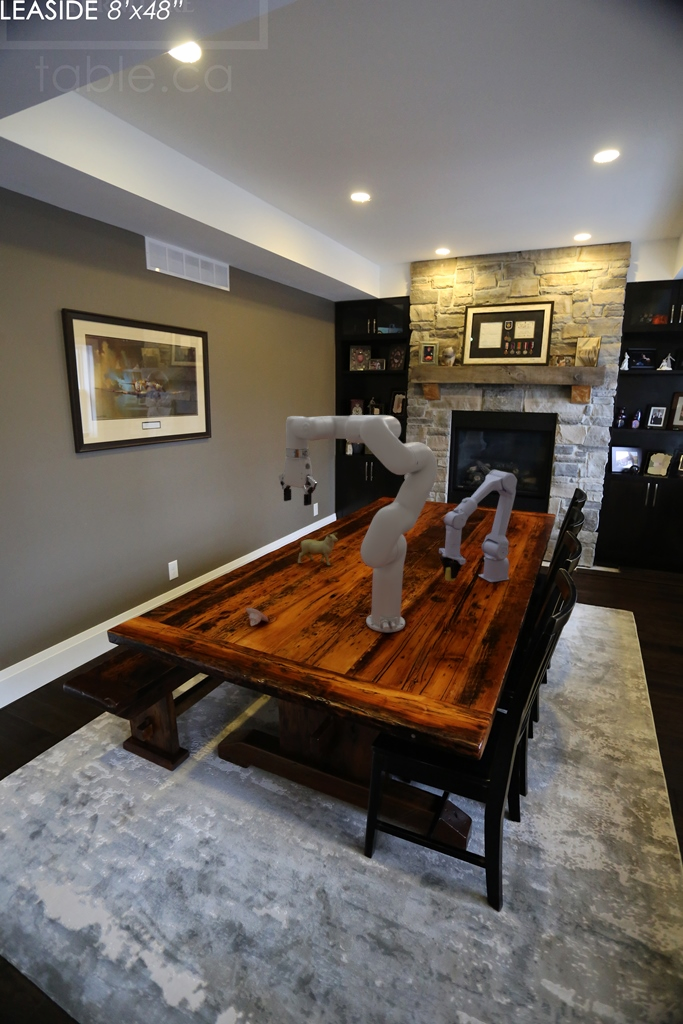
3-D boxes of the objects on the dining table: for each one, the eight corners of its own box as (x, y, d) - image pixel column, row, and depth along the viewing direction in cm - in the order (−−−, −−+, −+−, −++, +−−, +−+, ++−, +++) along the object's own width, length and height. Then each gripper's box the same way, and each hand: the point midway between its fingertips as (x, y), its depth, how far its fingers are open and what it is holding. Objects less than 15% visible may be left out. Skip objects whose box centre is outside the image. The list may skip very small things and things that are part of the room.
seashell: (251, 634, 162) (235, 615, 161) (262, 623, 165) (246, 604, 164) (262, 630, 156) (245, 610, 155) (273, 618, 159) (257, 599, 158)
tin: (443, 579, 195) (443, 568, 194) (448, 577, 198) (449, 566, 197) (451, 582, 193) (452, 571, 191) (456, 579, 195) (457, 568, 194)
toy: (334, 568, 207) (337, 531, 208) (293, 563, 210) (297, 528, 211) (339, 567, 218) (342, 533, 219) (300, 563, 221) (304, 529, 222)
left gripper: (323, 454, 166) (323, 505, 170) (287, 450, 177) (287, 497, 181) (308, 457, 160) (308, 508, 165) (271, 451, 171) (272, 500, 175)
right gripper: (433, 538, 196) (431, 571, 200) (455, 549, 184) (453, 584, 187) (448, 536, 199) (445, 568, 202) (471, 547, 186) (468, 581, 190)
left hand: (297, 502), depth 173 cm, fingers open, 9 cm apart
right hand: (450, 576), depth 195 cm, fingers closed on tin, 4 cm apart
